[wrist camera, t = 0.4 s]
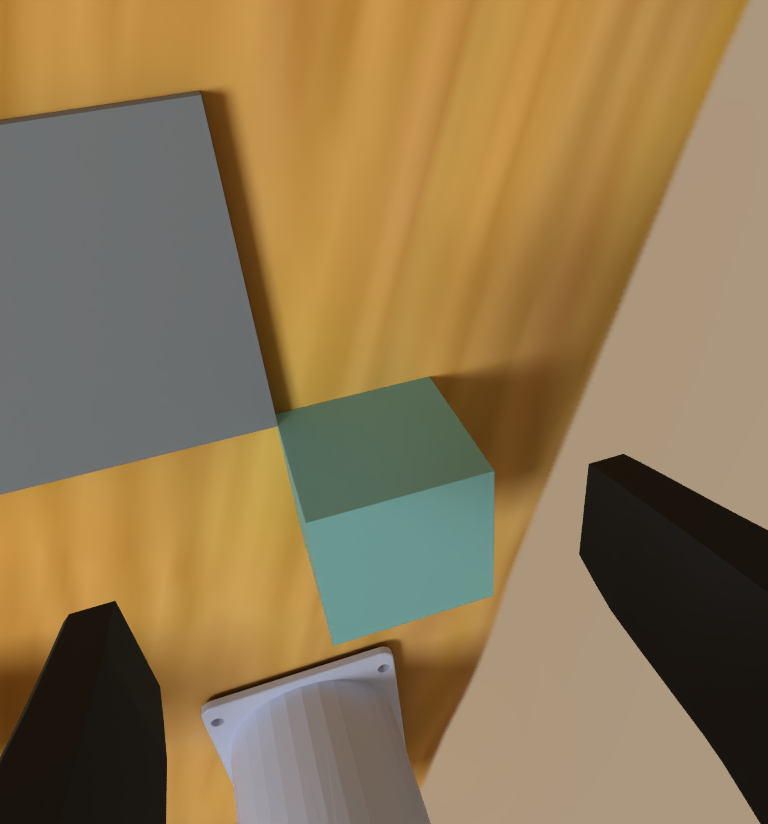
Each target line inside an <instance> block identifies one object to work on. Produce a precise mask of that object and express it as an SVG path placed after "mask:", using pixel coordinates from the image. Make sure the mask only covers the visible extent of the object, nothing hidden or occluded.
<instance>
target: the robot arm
mask: <svg viewBox="0 0 768 824" xmlns="http://www.w3.org/2000/svg"><path fill="white" fill-rule="evenodd" d="M579 555H580V556H581V558H582V560H583V562H584V564H585V566H586V567H587V569H588V571H589V573H590V575H591V577H592V578H593V580H594V582H595V584H596V586H597V587H598V589H599V591H600V592H601V594H602V596H603V597H604V599H605V601H606V603H607V604H608V606H609V608H610V609H611V611H612V612H613V614H614V615H615V617H616V618H617V619H618V620H619V622H620V623H621V625H622V626H623V628H624V629H625V630H626V631H627V633H628V634H629V636H630V637H631V638H632V640H633V641H634V642H635V644H636V645H637V647H638V648H639V649H640V651H641V652H642V653H643V655H644V656H645V657H646V659H647V660H648V661H649V663H650V664H651V665H652V667H653V668H654V669H655V671H656V672H657V673H658V675H659V676H660V677H661V679H662V680H663V681H664V682H665V684H666V685H667V687H668V688H669V689H670V691H671V692H672V693H673V695H674V696H675V697H676V698H677V700H678V701H679V703H680V704H681V705H682V707H683V708H684V709H685V711H686V712H687V713H688V715H689V716H690V717H691V719H692V720H693V721H694V723H695V724H696V725H697V727H698V728H699V729H700V731H701V732H702V733H703V735H704V736H705V738H706V739H707V741H708V742H709V743H710V745H711V746H712V748H713V749H714V751H715V752H716V754H717V755H718V756H719V758H720V759H721V761H722V762H723V764H724V765H725V767H726V768H727V770H728V772H729V773H730V775H731V777H732V778H733V779H734V781H735V783H736V785H737V786H738V788H739V790H740V791H741V793H742V794H743V796H744V798H745V799H746V801H747V803H748V804H749V806H750V807H751V809H752V810H753V812H754V814H755V815H756V817H757V819H758V820H759V822H760V823H761V824H768V530H766V529H764V528H762V527H761V526H758V525H757V524H755V523H752V522H751V521H749V520H747V519H745V518H743V517H741V516H739V515H737V514H736V513H733V512H732V511H730V510H728V509H726V508H724V507H722V506H720V505H719V504H717V503H715V502H713V501H711V500H709V499H707V498H705V497H704V496H702V495H700V494H698V493H696V492H694V491H692V490H691V489H689V488H687V487H685V486H683V485H682V484H680V483H678V482H676V481H674V480H672V479H670V478H668V477H667V476H665V475H663V474H661V473H659V472H658V471H656V470H654V469H652V468H650V467H648V466H646V465H644V464H642V463H641V462H639V461H637V460H634V459H633V458H631V457H629V456H627V455H625V454H622V455H618V456H615V457H611V458H608V459H604V460H601V461H598V462H594V463H591V464H589V468H588V476H587V486H586V495H585V505H584V514H583V525H582V533H581V542H580V552H579ZM201 714H202V720H203V722H204V724H205V726H206V729H207V731H208V733H209V735H210V737H211V739H212V741H213V743H214V745H215V748H216V750H217V752H218V754H219V756H220V758H221V760H222V762H223V764H224V767H225V769H226V771H227V773H228V775H229V777H230V779H231V781H232V784H233V786H234V795H235V804H236V814H237V823H238V824H431V823H430V820H429V817H428V814H427V811H426V808H425V805H424V802H423V799H422V796H421V793H420V790H419V787H418V784H417V781H416V778H415V775H414V772H413V769H412V766H411V763H410V760H409V757H408V754H407V751H406V744H405V737H404V730H403V722H402V715H401V708H400V701H399V694H398V686H397V679H396V672H395V665H394V657H393V654H392V651H391V649H390V648H388V647H378V648H375V649H372V650H369V651H365V652H362V653H359V654H356V655H353V656H350V657H347V658H343V659H340V660H337V661H334V662H331V663H328V664H325V665H321V666H318V667H315V668H312V669H309V670H306V671H303V672H300V673H296V674H293V675H290V676H287V677H284V678H281V679H278V680H274V681H271V682H268V683H265V684H262V685H259V686H256V687H252V688H249V689H246V690H243V691H240V692H237V693H234V694H231V695H227V696H224V697H221V698H218V699H215V700H212V701H209V702H207V703H206V704H205V705H203V707H202V708H201ZM166 791H167V755H166V743H165V731H164V720H163V710H162V701H161V691H160V686H159V684H158V682H157V680H156V678H155V676H154V674H153V672H152V670H151V668H150V666H149V664H148V663H147V661H146V659H145V657H144V655H143V653H142V651H141V649H140V647H139V645H138V643H137V641H136V640H135V638H134V636H133V634H132V632H131V630H130V628H129V626H128V624H127V622H126V620H125V618H124V617H123V615H122V613H121V611H120V609H119V607H118V605H117V603H116V601H113V602H110V603H106V604H103V605H99V606H96V607H93V608H89V609H86V610H82V611H79V612H75V613H72V614H69V615H68V617H67V618H66V620H65V621H64V622H63V625H62V627H61V629H60V631H59V634H58V636H57V638H56V640H55V643H54V645H53V647H52V649H51V652H50V654H49V656H48V658H47V661H46V663H45V665H44V667H43V669H42V672H41V674H40V676H39V678H38V680H37V683H36V685H35V687H34V689H33V691H32V693H31V695H30V698H29V700H28V702H27V704H26V706H25V708H24V710H23V712H22V715H21V717H20V719H19V721H18V723H17V725H16V727H15V729H14V731H13V733H12V735H11V737H10V739H9V741H8V743H7V745H6V747H5V749H4V751H3V753H2V755H1V757H0V824H166Z"/></svg>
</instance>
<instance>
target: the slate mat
mask: <svg viewBox="0 0 768 824" xmlns="http://www.w3.org/2000/svg"><path fill="white" fill-rule="evenodd" d="M276 426H278V424H277V420H276V416H275V411H274V407H273V403H272V398H271V394H270V390H269V385H268V381H267V377H266V372H265V368H264V364H263V360H262V355H261V351H260V347H259V342H258V338H257V334H256V329H255V325H254V321H253V316H252V312H251V308H250V304H249V299H248V295H247V291H246V286H245V282H244V278H243V273H242V269H241V265H240V260H239V256H238V252H237V247H236V243H235V239H234V235H233V230H232V226H231V222H230V217H229V213H228V209H227V204H226V200H225V196H224V191H223V187H222V183H221V179H220V174H219V170H218V166H217V161H216V157H215V153H214V148H213V144H212V140H211V135H210V131H209V127H208V123H207V118H206V114H205V110H204V105H203V101H202V97H201V94H200V91H193V92H187V93H180V94H173V95H166V96H160V97H153V98H146V99H139V100H133V101H126V102H119V103H112V104H106V105H99V106H92V107H85V108H79V109H72V110H65V111H58V112H52V113H45V114H38V115H32V116H25V117H18V118H11V119H5V120H0V495H1V494H5V493H9V492H13V491H17V490H21V489H25V488H29V487H33V486H37V485H41V484H45V483H49V482H53V481H57V480H61V479H65V478H69V477H73V476H78V475H82V474H86V473H90V472H94V471H98V470H102V469H106V468H110V467H114V466H118V465H122V464H126V463H130V462H134V461H138V460H142V459H146V458H150V457H154V456H159V455H163V454H167V453H171V452H175V451H179V450H183V449H187V448H191V447H195V446H199V445H203V444H207V443H211V442H215V441H219V440H223V439H227V438H231V437H235V436H240V435H244V434H248V433H252V432H256V431H260V430H264V429H268V428H272V427H276Z"/></svg>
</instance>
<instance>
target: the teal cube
mask: <svg viewBox="0 0 768 824" xmlns="http://www.w3.org/2000/svg"><path fill="white" fill-rule="evenodd" d="M275 416H276V420H277V424H278V426H277V427H278V431H279V436H280V440H281V444H282V448H283V453H284V457H285V461H286V466H287V470H288V474H289V479H290V483H291V487H292V492H293V496H294V500H295V504H296V509H297V513H298V517H299V522H300V526H301V530H302V534H303V537H304V541H305V545H306V548H307V552H308V555H309V559H310V563H311V566H312V570H313V574H314V577H315V581H316V584H317V588H318V592H319V595H320V599H321V603H322V606H323V610H324V613H325V617H326V621H327V624H328V628H329V631H330V635H331V639H332V642H333V646H334V645H338V644H341V643H344V642H347V641H350V640H353V639H357V638H360V637H363V636H366V635H369V634H373V633H376V632H379V631H382V630H385V629H388V628H392V627H395V626H398V625H401V624H404V623H407V622H411V621H414V620H417V619H420V618H423V617H427V616H430V615H433V614H436V613H439V612H442V611H446V610H449V609H452V608H455V607H458V606H461V605H465V604H468V603H471V602H474V601H477V600H481V599H484V598H487V597H490V596H493V563H494V472H495V471H494V469H493V468H492V467H491V465H490V464H489V462H488V461H487V459H486V458H485V456H484V455H483V454H482V452H481V451H480V449H479V448H478V446H477V445H476V443H475V442H474V440H473V439H472V438H471V436H470V435H469V433H468V432H467V430H466V429H465V427H464V426H463V425H462V423H461V422H460V420H459V419H458V417H457V416H456V414H455V413H454V412H453V410H452V409H451V407H450V406H449V404H448V403H447V401H446V400H445V398H444V397H443V396H442V394H441V393H440V391H439V390H438V388H437V387H436V385H435V384H434V383H433V381H432V380H431V378H430V377H425V378H421V379H417V380H413V381H409V382H405V383H401V384H397V385H392V386H388V387H384V388H380V389H376V390H372V391H368V392H364V393H360V394H355V395H351V396H347V397H343V398H339V399H335V400H331V401H327V402H322V403H318V404H314V405H310V406H306V407H302V408H298V409H294V410H290V411H285V412H281V413H277V414H275Z"/></svg>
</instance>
